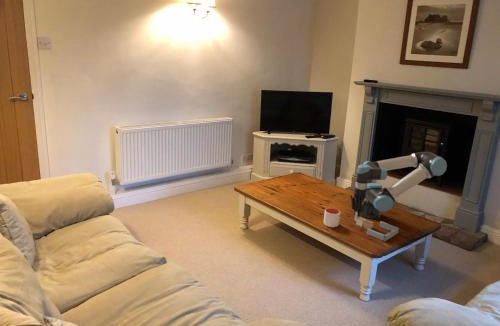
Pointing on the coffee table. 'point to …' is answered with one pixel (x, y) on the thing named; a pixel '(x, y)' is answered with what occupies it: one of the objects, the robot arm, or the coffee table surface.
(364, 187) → the robot arm
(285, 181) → the coffee table surface
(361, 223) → the tile rear
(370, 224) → the tile front
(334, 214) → the cup
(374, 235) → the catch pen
